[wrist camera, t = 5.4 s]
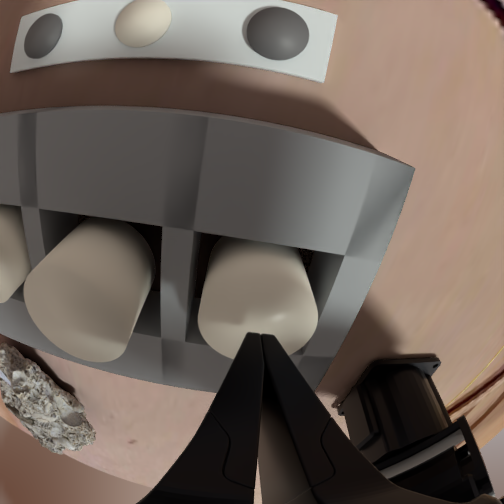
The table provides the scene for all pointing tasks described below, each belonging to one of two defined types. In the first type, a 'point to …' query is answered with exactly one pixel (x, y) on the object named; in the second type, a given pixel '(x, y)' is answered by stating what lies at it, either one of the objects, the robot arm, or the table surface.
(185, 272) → the button board
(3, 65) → the table surface
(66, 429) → the mineral specimen
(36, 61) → the card
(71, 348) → the button middle
